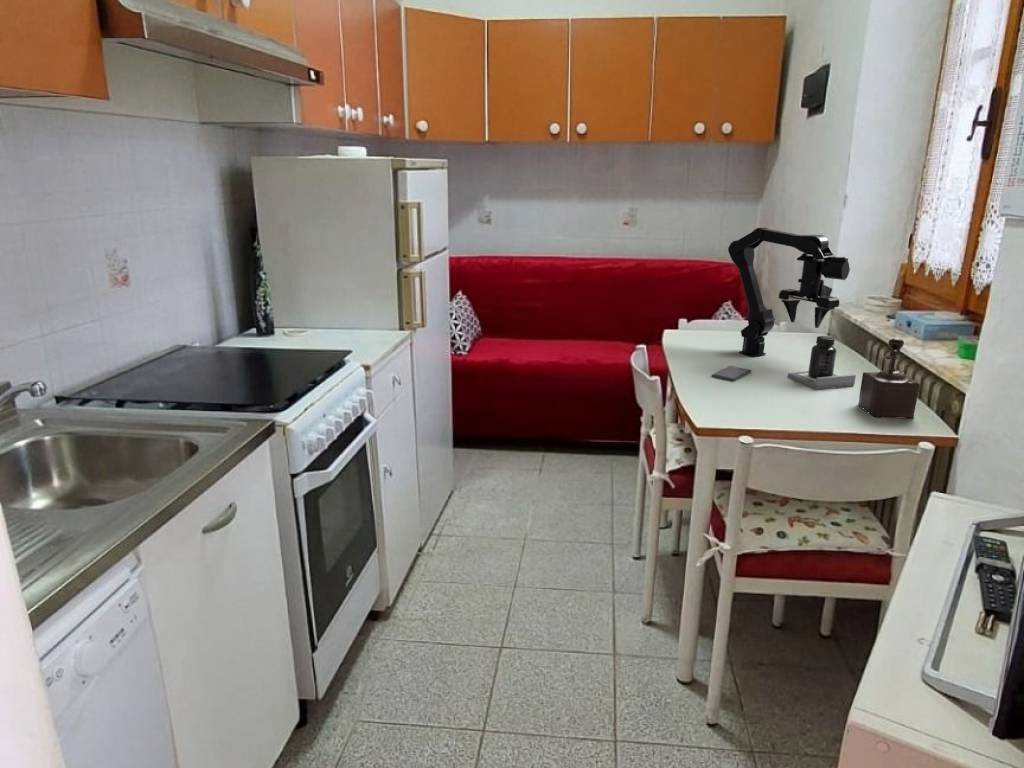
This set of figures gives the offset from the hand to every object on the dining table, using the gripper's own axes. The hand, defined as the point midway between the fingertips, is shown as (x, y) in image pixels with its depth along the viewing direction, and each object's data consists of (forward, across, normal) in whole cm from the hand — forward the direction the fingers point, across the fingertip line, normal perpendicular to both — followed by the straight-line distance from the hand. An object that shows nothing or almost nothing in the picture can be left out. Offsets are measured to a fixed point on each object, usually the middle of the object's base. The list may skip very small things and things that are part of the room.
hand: (804, 325), depth 225 cm
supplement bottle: (+12, -16, +10) cm, 22 cm away
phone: (+13, +1, +29) cm, 32 cm away
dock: (+13, -16, +10) cm, 23 cm away
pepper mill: (+13, -40, +16) cm, 45 cm away
